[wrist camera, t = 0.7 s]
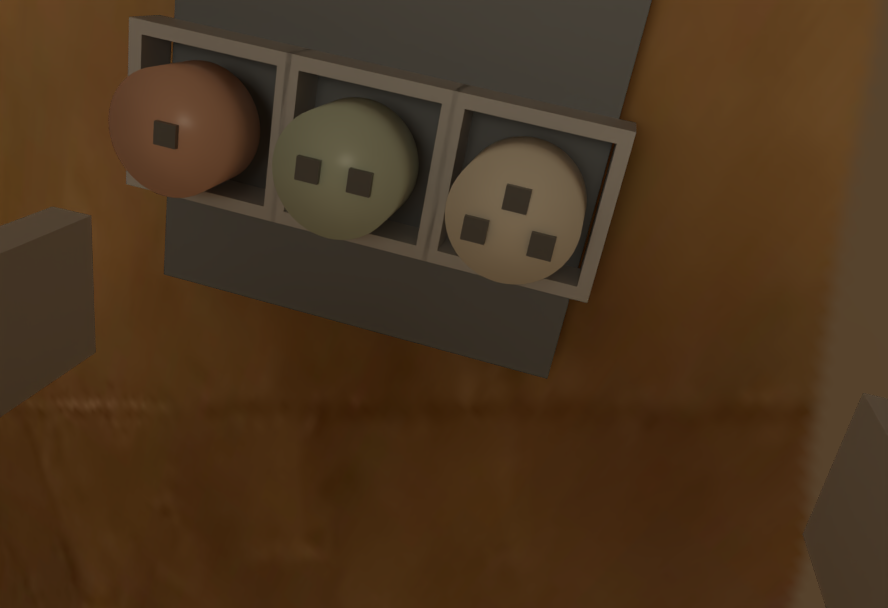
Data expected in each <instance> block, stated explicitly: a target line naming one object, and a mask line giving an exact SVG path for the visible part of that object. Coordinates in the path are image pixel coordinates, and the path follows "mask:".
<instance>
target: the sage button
mask: <svg viewBox="0 0 888 608" xmlns="http://www.w3.org/2000/svg"><path fill="white" fill-rule="evenodd" d="M418 168H419V158H418V152H417V147H416V144H415V141H414V139H413V136H412V134H411V132H410V130H409V129H408V127H407V126H406V124H405V123H404V122H403V120H402V119H401V118H400V117H399V116H398V115H397V114H396V113H395V112H394V111H392V110H391V109H390V108H388V107H387V106H385V105H383V104H381V103H379V102H377V101H374V100H371V99H368V98H361V97H348V98H342V99H339V100H336V101H333V102H330V103H328V104H325V105H322V106H320V107H317V108H314V109H311V110H309V111H307V112H304V113H302V114H301V115H299V116H297V117H296V118H295V119H293V120H292V121H291V122H290V123H289V124H288V125H287V126H286V127H285V129H284V130H283V131H282V133H281V135H280V136H279V138H278V140H277V143H276V145H275V149H274V152H273V159H272V174H273V181H274V185H275V188H276V191H277V194H278V196H279V198H280V200H281V202H282V204H283V206H284V207H285V209H286V210H287V211H288V213H289V214H290V215H291V216H292V217H293V218H294V219H295V220H296V221H297V222H298V223H299V224H300V225H302V226H303V227H304V228H306V229H307V230H309V231H311V232H312V233H315V234H317V235H319V236H322V237H325V238H329V239H334V240H350V239H355V238H359V237H362V236H365V235H367V234H369V233H371V232H372V231H374V230H375V229H377V228H378V227H379V226H380V225H381V224H382V223H384V222H385V221H386V220H387V219H388V218H389V217H390V216H391V215H392V214H393V213H394V212H395V211H396V210H397V209H398V208H400V207H401V206H402V205H403V204H404V203H405V201H406V200H407V199H408V197H409V196H410V194H411V192H412V191H413V189H414V186H415V183H416V180H417V176H418Z"/></svg>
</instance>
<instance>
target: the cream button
mask: <svg viewBox="0 0 888 608" xmlns="http://www.w3.org/2000/svg"><path fill="white" fill-rule="evenodd" d="M586 205H587V195H586V187H585V183H584V180H583V177H582V174H581V173H580V171H579V169H578V167H577V165H576V164H575V163H574V161H573V160H572V159H571V158H570V157H569V156H568V154H566V153H565V152H564V151H563V150H562V149H560V148H559V147H557V146H556V145H554V144H552V143H550V142H548V141H546V140H542V139H539V138H535V137H528V136H518V137H510V138H506V139H502V140H500V141H497V142H495V143H493V144H491V145H489V146H488V147H486V148H485V149H484V150H482V151H481V152H480V153H479V154H478V155H477V156H476V157H475V158H474V159H473V160H472V161H471V162H470V163H469V165H468V166H467V167H466V168H465V169H464V170H463V171H462V172H461V173H460V175H459V176H458V177H457V178H456V180H455V182H454V183H453V185H452V187H451V189H450V192H449V194H448V197H447V201H446V207H445V224H446V230H447V234H448V237H449V240H450V242H451V244H452V246H453V248H454V250H455V252H456V253H457V254H458V256H459V257H460V258H461V260H462V261H463V262H464V263H465V264H466V265H467V266H468V267H469V268H471V269H472V270H473V271H475V272H476V273H478V274H479V275H481V276H483V277H485V278H487V279H489V280H492V281H495V282H499V283H504V284H514V285H516V284H527V283H532V282H536V281H539V280H542V279H544V278H546V277H548V276H550V275H551V274H553V273H554V272H556V271H557V270H558V269H560V268H561V267H562V266H563V265H564V264H565V263H566V262H567V261H568V260H569V258H570V257H571V255H572V254H573V252H574V250H575V248H576V246H577V244H578V242H579V239H580V236H581V231H582V226H583V221H584V216H585V211H586Z"/></svg>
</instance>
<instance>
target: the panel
mask: <svg viewBox="0 0 888 608" xmlns="http://www.w3.org/2000/svg"><path fill="white" fill-rule="evenodd" d="M651 1H652V0H175V18H170V17H166V16H162V15H153V16H135V17H129V53H128V76H129V75H131V74H132V73H134V72H136V71H138V70H140V69H143V68H146V67H152V66H158V65H165V64H170V57H171V41H173V63H177V62H183V61H190V60H203V61H208V62H212V63H215V64H217V65H219V66H222V67H223V68H225V69H227V70H228V71H230V72H231V73H232V74H233V75H235V76H236V77H237V78H238V79H239V80H240V81H241V82H242V83H243V85H244V86H245V87H246V89H247V90H248V92H249V93H250V95H251V97H252V99H253V101H254V103H255V106H256V109H257V112H258V116H259V121H260V139H259V145H258V148H257V152H256V154H255V156H254V158H253V160H252V161H251V163H250V164H249V165H248V167H247V168H246V169H245V170H244V171H243V172H241V173H240V174H239V175H237V176H235V177H233V178H231V179H229V180H227V181H225V182H223V183H221V184H219V185H216V186H214V187H212V188H210V189H208V190H206V191H204V192H202V193H199V194H197V195H195V196H191V197H185V198H172V197H167V212H166V236H165V260H164V274H165V275H169V276H172V277H176V278H180V279H183V280H187V281H191V282H194V283H198V284H202V285H205V286H209V287H213V288H216V289H220V290H224V291H227V292H231V293H235V294H238V295H242V296H246V297H249V298H253V299H257V300H260V301H264V302H268V303H271V304H275V305H279V306H282V307H286V308H290V309H293V310H297V311H301V312H304V313H308V314H312V315H315V316H319V317H323V318H326V319H330V320H334V321H337V322H341V323H345V324H348V325H352V326H356V327H359V328H363V329H367V330H370V331H374V332H378V333H381V334H385V335H389V336H392V337H396V338H400V339H403V340H407V341H411V342H414V343H418V344H422V345H425V346H429V347H433V348H436V349H440V350H444V351H447V352H451V353H455V354H458V355H462V356H466V357H469V358H473V359H477V360H480V361H484V362H488V363H491V364H495V365H499V366H502V367H506V368H510V369H513V370H517V371H521V372H524V373H528V374H532V375H535V376H539V377H543V378H546V379H547V378H548V374H549V371H550V367H551V363H552V360H553V356H554V353H555V349H556V345H557V342H558V338H559V334H560V331H561V327H562V324H563V320H564V316H565V313H566V309H567V305H568V302H569V298H570V299H573V300H577V301H581V302H585V303H587V302H588V299H589V295H590V292H591V288H592V285H593V281H594V278H595V274H596V271H597V267H598V264H599V260H600V257H601V253H602V250H603V246H604V243H605V239H606V236H607V232H608V229H609V226H610V222H611V219H612V215H613V212H614V208H615V205H616V201H617V198H618V194H619V191H620V187H621V184H622V180H623V177H624V173H625V170H626V166H627V163H628V159H629V156H630V152H631V149H632V145H633V142H634V138H635V135H636V123H635V122H630V121H626V120H621V119H619V117H620V113H621V110H622V106H623V103H624V99H625V95H626V92H627V88H628V84H629V81H630V77H631V74H632V70H633V66H634V63H635V59H636V55H637V52H638V48H639V45H640V41H641V37H642V34H643V30H644V26H645V23H646V19H647V16H648V12H649V8H650V5H651ZM348 97H361V98H368V99H371V100H374V101H377V102H379V103H381V104H383V105H385V106H387V107H388V108H390V109H391V110H392V111H394V112H395V113H396V114H397V115H398V116H399V117H400V118H401V119H402V120H403V122H404V123H405V124H406V126H407V127H408V129H409V130H410V132H411V134H412V136H413V139H414V141H415V144H416V147H417V152H418V158H419V168H418V176H417V180H416V183H415V186H414V189H413V191H412V192H411V194H410V196H409V197H408V199H407V200H406V201H405V203H404V204H403V205H402V206H401V207H400V208H398V209H397V210H396V211H395V212H394V213H393V214H392V215H391V216H390V217H389V218H388V219H387V220H386V221H385V222H384V223H382V224H381V225H380V226H379V227H378V228H377V229H375V230H374V231H372V232H371V233H369V234H367V235H365V236H362V237H359V238H355V239H350V240H334V239H329V238H325V237H322V236H319V235H317V234H315V233H312V232H311V231H309V230H307V229H306V228H304V227H303V226H302V225H300V224H299V223H298V222H297V221H296V220H295V219H294V218H293V217H292V216H291V215H290V214H289V213H288V211H287V210H286V209H285V207H284V206H283V204H282V202H281V200H280V198H279V196H278V194H277V191H276V188H275V185H274V181H273V174H272V159H273V152H274V149H275V145H276V143H277V140H278V138H279V136H280V135H281V133H282V131H283V130H284V129H285V127H286V126H287V125H288V124H289V123H290V122H291V121H292V120H293V119H295V118H296V117H297V116H299V115H301V114H302V113H304V112H307V111H309V110H311V109H314V108H317V107H320V106H322V105H325V104H328V103H330V102H333V101H336V100H339V99H342V98H348ZM518 136H528V137H535V138H539V139H542V140H546V141H548V142H550V143H552V144H554V145H556V146H557V147H559V148H560V149H562V150H563V151H564V152H565V153H566V154H568V156H569V157H570V158H571V159H572V160H573V161H574V163H575V164H576V165H577V167H578V169H579V171H580V173H581V174H582V177H583V180H584V183H585V187H586V195H587V205H586V211H585V216H584V221H583V226H582V231H581V236H580V239H579V242H578V244H577V246H576V248H575V250H574V252H573V254H572V255H571V257H570V258H569V260H568V261H567V262H566V263H565V264H564V265H563V266H562V267H561V268H560V269H558V270H557V271H556V272H554V273H553V274H551V275H550V276H548V277H546V278H544V279H542V280H539V281H536V282H532V283H527V284H516V285H514V284H504V283H499V282H495V281H492V280H489V279H487V278H485V277H483V276H481V275H479V274H478V273H476V272H475V271H473V270H472V269H471V268H469V267H468V266H467V265H466V264H465V263H464V262H463V261H462V260H461V258H460V257H459V256H458V254H457V253H456V252H455V250H454V248H453V246H452V244H451V242H450V240H449V237H448V234H447V230H446V224H445V207H446V201H447V197H448V194H449V192H450V189H451V187H452V185H453V183H454V182H455V180H456V178H457V177H458V176H459V175H460V173H461V172H462V171H463V170H464V169H465V168H466V167H467V166H468V165H469V163H470V162H471V161H472V160H473V159H474V158H475V157H476V156H477V155H478V154H479V153H480V152H481V151H482V150H484V149H485V148H486V147H488V146H489V145H491V144H493V143H495V142H497V141H500V140H502V139H506V138H510V137H518ZM612 143H615V146H614V149H613V153H612V157H611V160H610V164H609V168H608V171H607V175H606V178H605V182H604V186H603V189H602V193H601V196H600V200H599V204H598V207H597V211H596V214H595V218H594V222H593V225H592V229H591V232H590V236H589V240H588V243H587V247H586V250H585V254H584V258H583V261H582V265H581V268H578V266H579V262H580V258H581V255H582V251H583V248H584V244H585V240H586V237H587V233H588V229H589V226H590V222H591V219H592V215H593V211H594V208H595V204H596V200H597V197H598V193H599V190H600V186H601V182H602V179H603V175H604V171H605V168H606V164H607V161H608V157H609V153H610V150H611V146H612ZM126 184H128V185H132V186H136V187H140V188H144V189H147V188H146V187H144V186H143V185H141V184H140V183H139V182H138V181H136V180H135V179H134V178H133V177H132V176H131V175H130V174H129V172H128V171H127V170H126ZM148 190H149V189H148Z"/></svg>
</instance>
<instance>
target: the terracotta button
mask: <svg viewBox="0 0 888 608" xmlns="http://www.w3.org/2000/svg"><path fill="white" fill-rule="evenodd" d="M109 131H110V137H111V140H112V144H113V147H114V149H115V152H116V154H117V156H118V158H119V160H120V161H121V163H122V164H123V166H124V167H125V169H126V170H127V171H128V172H129V174H130V175H131V176H132V177H133V178H134V179H135V180H136V181H138V182H139V183H140V184H141V185H143V186H144V187H146V188H147V189H149V190H151V191H153V192H155V193H157V194H160V195H163V196H167V197H172V198H185V197H191V196H195V195H197V194H199V193H202V192H204V191H206V190H208V189H210V188H212V187H214V186H216V185H219V184H221V183H223V182H225V181H227V180H229V179H231V178H233V177H235V176H237V175H239V174H240V173H241V172H243V171H244V170H245V169H246V168H247V167H248V165H249V164H250V163H251V161H252V160H253V158H254V156H255V154H256V152H257V148H258V145H259V139H260V121H259V116H258V112H257V109H256V106H255V103H254V101H253V99H252V97H251V95H250V93H249V92H248V90H247V89H246V87H245V86H244V85H243V83H242V82H241V81H240V80H239V79H238V78H237V77H236V76H235V75H233V74H232V73H231V72H230V71H228V70H227V69H225V68H223V67H222V66H219V65H217V64H215V63H212V62H208V61H203V60H190V61H183V62H177V63H171V64H165V65H158V66H152V67H146V68H143V69H140V70H138V71H136V72H134V73H132V74H131V75H129V76H128V77H126V78H125V80H124V81H123V82H122V83H121V84H120V85H119V87H118V88H117V90H116V92H115V94H114V96H113V98H112V101H111V105H110V110H109Z"/></svg>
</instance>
